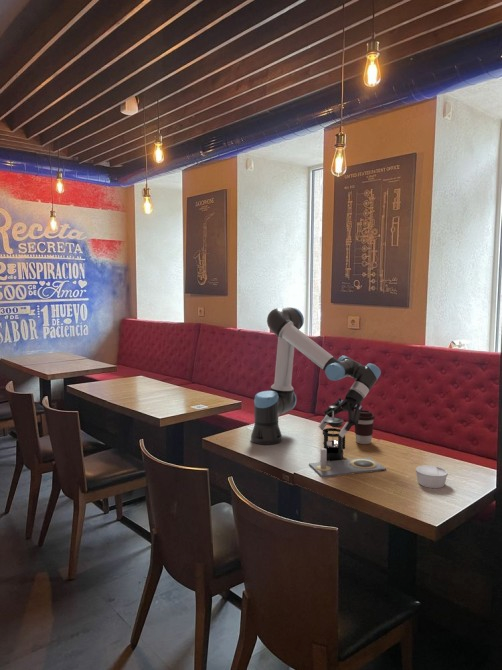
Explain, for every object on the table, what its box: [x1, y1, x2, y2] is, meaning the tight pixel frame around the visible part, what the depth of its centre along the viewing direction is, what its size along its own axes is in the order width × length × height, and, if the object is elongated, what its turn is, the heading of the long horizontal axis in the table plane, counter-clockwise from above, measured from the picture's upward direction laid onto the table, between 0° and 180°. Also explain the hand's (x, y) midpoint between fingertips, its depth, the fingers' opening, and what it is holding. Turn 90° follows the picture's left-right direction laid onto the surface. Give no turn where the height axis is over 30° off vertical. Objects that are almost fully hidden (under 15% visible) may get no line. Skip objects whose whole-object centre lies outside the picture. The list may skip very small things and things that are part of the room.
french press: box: [322, 405, 346, 462], centre depth 214 cm, size 12×9×23 cm
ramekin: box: [415, 465, 448, 489], centre depth 185 cm, size 11×11×5 cm
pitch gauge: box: [308, 447, 387, 478], centre depth 202 cm, size 14×28×9 cm, turn 105°
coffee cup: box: [354, 409, 376, 445], centre depth 236 cm, size 10×10×15 cm
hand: (330, 432), depth 213 cm, fingers open, 13 cm apart
